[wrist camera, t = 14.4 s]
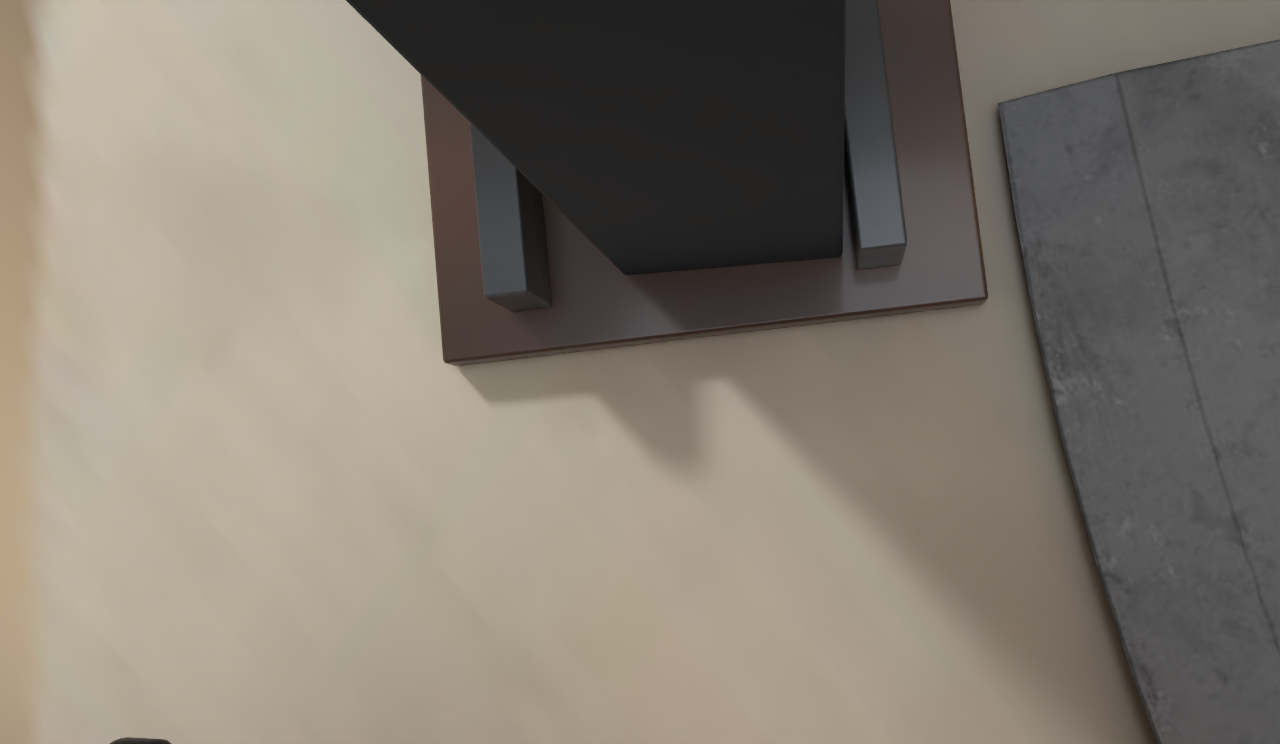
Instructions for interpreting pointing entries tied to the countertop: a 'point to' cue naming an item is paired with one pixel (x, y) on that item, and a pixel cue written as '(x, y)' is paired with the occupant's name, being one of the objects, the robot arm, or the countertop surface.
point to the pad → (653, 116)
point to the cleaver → (1168, 364)
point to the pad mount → (735, 295)
